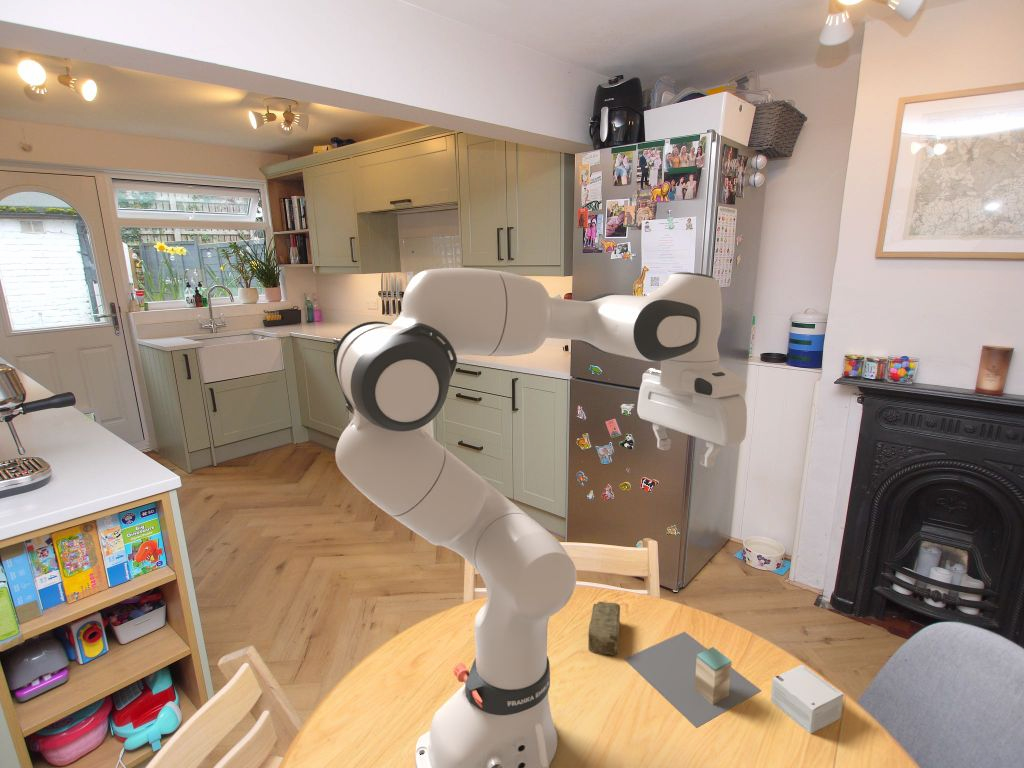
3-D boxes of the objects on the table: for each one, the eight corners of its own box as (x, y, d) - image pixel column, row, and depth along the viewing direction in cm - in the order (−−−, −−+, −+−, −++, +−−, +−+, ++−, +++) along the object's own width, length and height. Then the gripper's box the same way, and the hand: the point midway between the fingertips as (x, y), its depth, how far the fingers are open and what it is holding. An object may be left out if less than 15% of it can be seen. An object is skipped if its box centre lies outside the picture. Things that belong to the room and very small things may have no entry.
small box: (842, 720, 88) (845, 693, 87) (810, 737, 84) (813, 710, 83) (799, 687, 95) (802, 662, 94) (768, 702, 91) (771, 677, 90)
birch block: (712, 704, 90) (715, 669, 89) (694, 689, 94) (696, 654, 92) (728, 695, 92) (731, 661, 91) (710, 680, 96) (712, 646, 94)
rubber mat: (696, 729, 86) (696, 727, 86) (623, 660, 102) (623, 658, 101) (761, 692, 93) (761, 690, 93) (684, 633, 109) (684, 631, 109)
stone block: (620, 622, 113) (620, 601, 112) (617, 660, 102) (618, 637, 101) (592, 618, 114) (593, 598, 113) (587, 655, 103) (587, 633, 102)
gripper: (630, 367, 92) (627, 443, 95) (727, 389, 75) (720, 480, 78) (657, 364, 95) (654, 437, 98) (756, 384, 78) (749, 472, 81)
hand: (684, 457), depth 88 cm, fingers open, 8 cm apart
